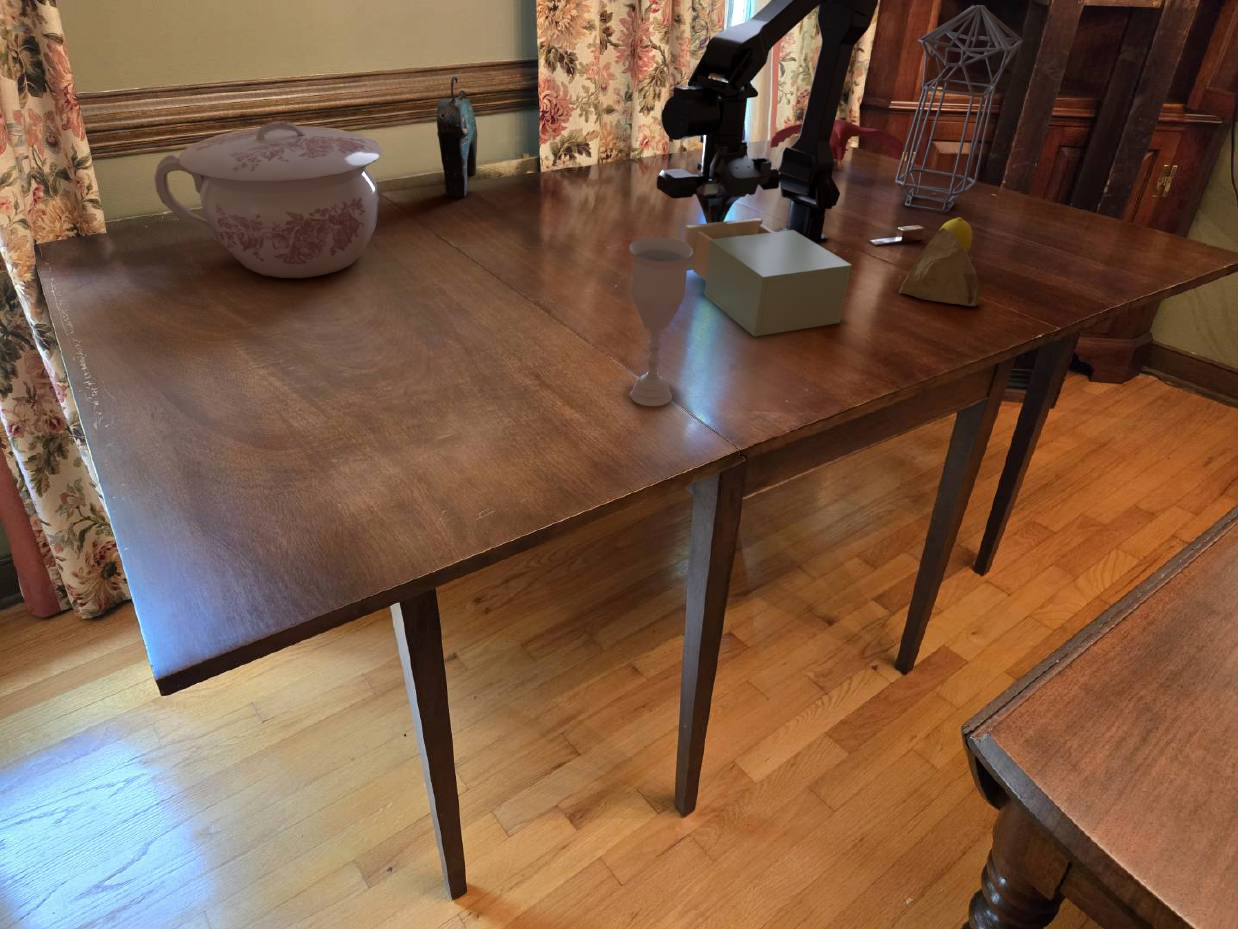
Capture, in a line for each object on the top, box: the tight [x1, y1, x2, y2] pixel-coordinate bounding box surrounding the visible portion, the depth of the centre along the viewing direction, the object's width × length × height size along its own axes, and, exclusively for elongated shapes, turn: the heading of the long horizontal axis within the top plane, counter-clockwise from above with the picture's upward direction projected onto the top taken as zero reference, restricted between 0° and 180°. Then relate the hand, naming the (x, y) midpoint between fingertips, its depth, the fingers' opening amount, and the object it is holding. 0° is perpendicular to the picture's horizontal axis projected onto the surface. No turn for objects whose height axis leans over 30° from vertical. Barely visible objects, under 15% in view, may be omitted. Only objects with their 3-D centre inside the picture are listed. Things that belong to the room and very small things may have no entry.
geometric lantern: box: [894, 4, 1023, 213], centre depth 154 cm, size 16×16×35 cm
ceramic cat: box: [436, 76, 478, 198], centre depth 158 cm, size 20×6×20 cm, turn 179°
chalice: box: [628, 236, 693, 407], centre depth 93 cm, size 7×7×18 cm
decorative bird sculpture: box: [770, 119, 904, 170], centre depth 182 cm, size 28×9×15 cm
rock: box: [898, 227, 981, 307], centre depth 123 cm, size 11×9×10 cm
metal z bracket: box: [869, 224, 925, 247], centre depth 145 cm, size 10×2×2 cm, turn 113°
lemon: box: [938, 216, 973, 254], centre depth 135 cm, size 6×6×8 cm
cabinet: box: [704, 230, 853, 338], centre depth 117 cm, size 15×14×9 cm
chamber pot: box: [153, 120, 384, 279], centre depth 121 cm, size 28×28×21 cm
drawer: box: [684, 217, 775, 282], centre depth 126 cm, size 18×13×7 cm
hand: (713, 234), depth 131 cm, fingers closed, pressing on drawer
